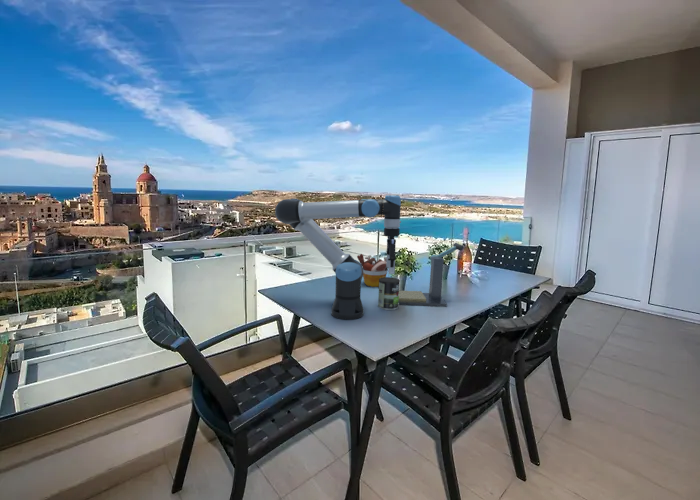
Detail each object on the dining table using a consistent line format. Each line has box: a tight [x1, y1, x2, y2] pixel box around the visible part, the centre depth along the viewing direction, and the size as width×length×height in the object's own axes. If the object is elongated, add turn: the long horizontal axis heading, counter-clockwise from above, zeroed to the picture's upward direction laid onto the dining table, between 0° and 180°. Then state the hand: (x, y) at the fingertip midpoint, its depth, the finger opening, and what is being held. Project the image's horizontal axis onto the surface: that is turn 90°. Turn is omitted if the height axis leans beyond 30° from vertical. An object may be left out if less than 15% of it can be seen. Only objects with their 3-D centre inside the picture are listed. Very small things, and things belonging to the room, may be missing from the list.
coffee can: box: [377, 276, 401, 311], centre depth 160 cm, size 10×10×14 cm
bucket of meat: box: [356, 253, 389, 288], centre depth 199 cm, size 20×16×20 cm
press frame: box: [398, 257, 448, 308], centre depth 171 cm, size 24×18×24 cm
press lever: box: [430, 242, 464, 259], centre depth 174 cm, size 18×8×4 cm, turn 87°
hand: (390, 270), depth 158 cm, fingers open, 13 cm apart
